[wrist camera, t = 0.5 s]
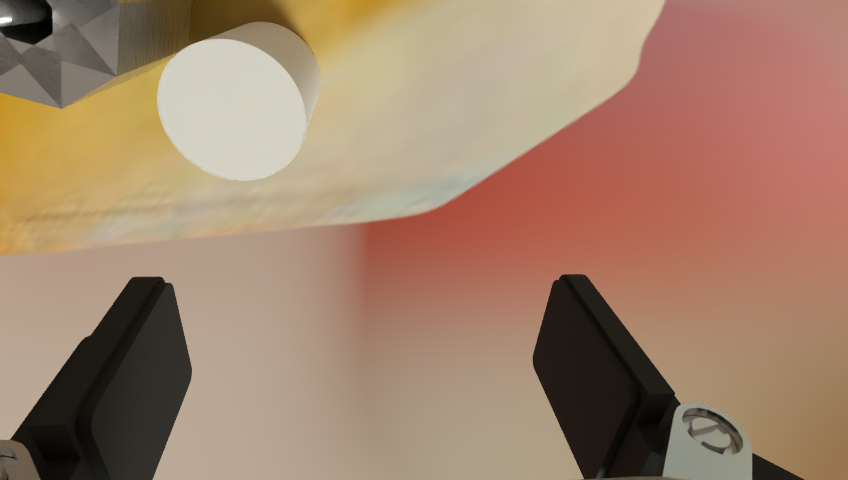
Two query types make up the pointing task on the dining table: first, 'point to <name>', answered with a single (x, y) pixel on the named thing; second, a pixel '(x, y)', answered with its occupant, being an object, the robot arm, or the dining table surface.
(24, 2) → the plunger
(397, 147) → the dining table surface
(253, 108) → the light grey cylinder
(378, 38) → the dining table surface
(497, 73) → the dining table surface
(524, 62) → the dining table surface
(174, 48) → the octagonal faceted vessel
